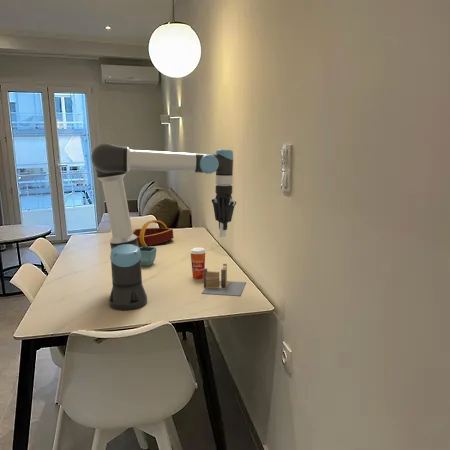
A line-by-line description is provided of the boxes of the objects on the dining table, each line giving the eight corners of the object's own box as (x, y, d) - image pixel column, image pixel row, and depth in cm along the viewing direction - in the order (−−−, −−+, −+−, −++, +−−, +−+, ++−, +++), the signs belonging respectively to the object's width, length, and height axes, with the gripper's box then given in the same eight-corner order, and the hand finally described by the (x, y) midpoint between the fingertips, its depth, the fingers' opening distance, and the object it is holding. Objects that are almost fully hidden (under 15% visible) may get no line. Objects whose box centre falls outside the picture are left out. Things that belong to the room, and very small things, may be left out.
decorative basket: (151, 238, 287) (148, 217, 285) (186, 235, 275) (182, 214, 273) (122, 249, 257) (118, 227, 255) (159, 247, 245) (155, 223, 242)
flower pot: (151, 267, 209) (150, 251, 207) (135, 266, 210) (135, 250, 209) (157, 262, 217) (156, 247, 215) (142, 262, 219) (141, 246, 217)
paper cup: (189, 279, 190) (188, 251, 187) (192, 274, 197) (191, 247, 195) (205, 279, 189) (204, 251, 186) (207, 274, 196) (207, 247, 194)
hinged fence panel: (225, 285, 179) (225, 269, 178) (221, 285, 179) (221, 269, 178) (226, 278, 188) (226, 263, 186) (223, 278, 188) (223, 263, 186)
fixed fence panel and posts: (225, 288, 177) (225, 270, 175) (203, 287, 179) (203, 269, 177) (226, 287, 179) (225, 269, 177) (204, 286, 180) (204, 268, 179)
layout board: (240, 296, 168) (240, 295, 168) (201, 293, 171) (201, 292, 171) (245, 282, 184) (245, 282, 184) (210, 280, 187) (210, 280, 187)
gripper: (240, 185, 173) (239, 237, 178) (218, 183, 182) (217, 233, 186) (229, 186, 168) (228, 240, 172) (207, 184, 176) (206, 235, 181)
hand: (222, 236), depth 179 cm, fingers closed
